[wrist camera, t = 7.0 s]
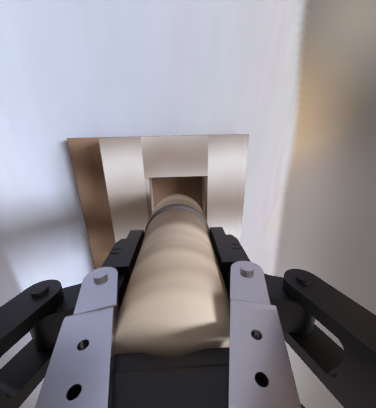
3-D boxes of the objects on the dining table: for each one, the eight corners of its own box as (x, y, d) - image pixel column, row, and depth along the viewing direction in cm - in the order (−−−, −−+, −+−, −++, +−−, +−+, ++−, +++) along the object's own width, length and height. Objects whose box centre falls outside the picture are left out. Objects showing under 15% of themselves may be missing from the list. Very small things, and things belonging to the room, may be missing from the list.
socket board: (74, 138, 20) (39, 139, 15) (236, 134, 21) (254, 134, 16) (105, 290, 27) (88, 327, 22) (227, 284, 28) (238, 318, 23)
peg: (151, 188, 16) (84, 315, 5) (202, 187, 16) (257, 306, 5) (155, 234, 17) (110, 418, 6) (202, 232, 18) (244, 409, 6)
